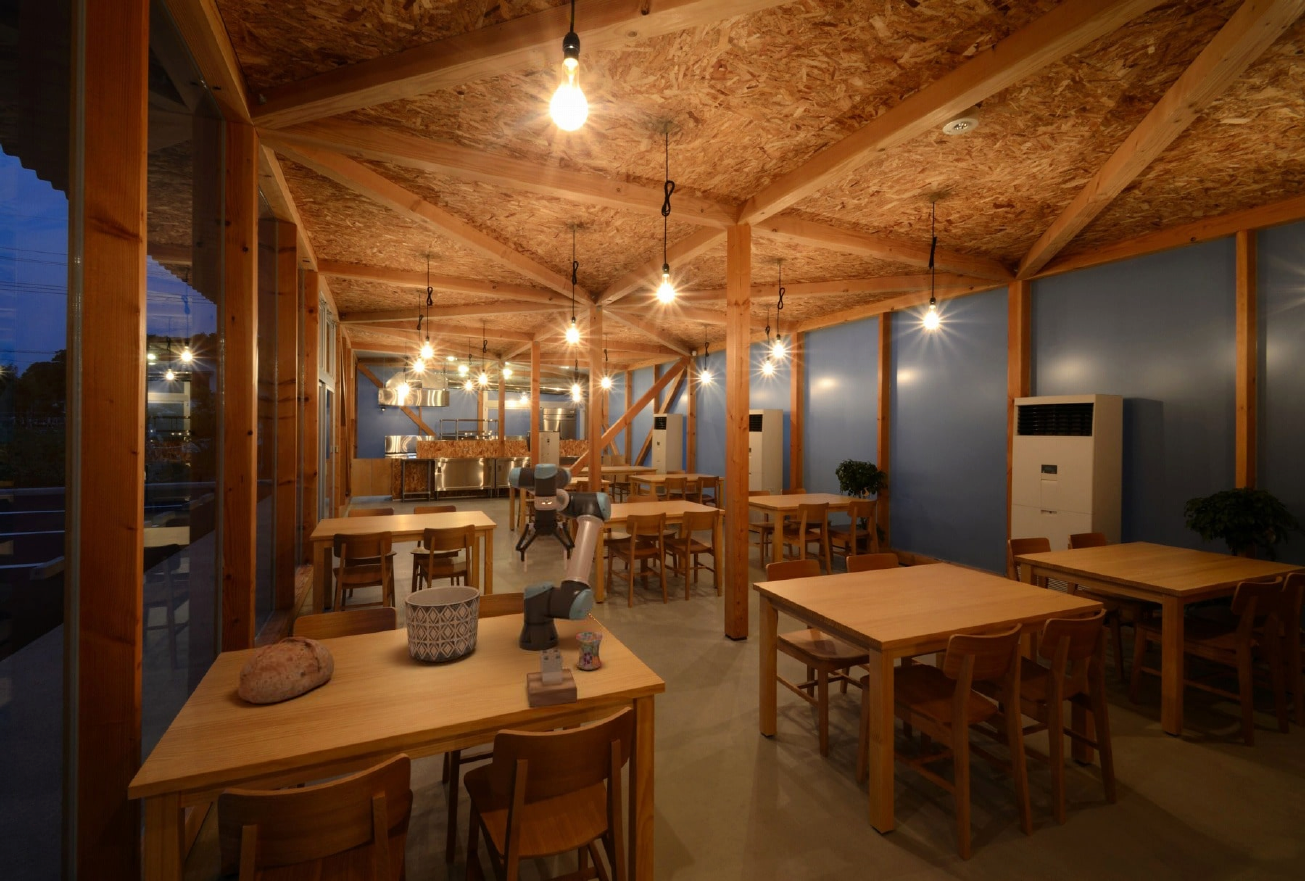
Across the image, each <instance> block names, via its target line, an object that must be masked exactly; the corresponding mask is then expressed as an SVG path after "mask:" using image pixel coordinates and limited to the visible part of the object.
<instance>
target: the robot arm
mask: <svg viewBox="0 0 1305 881" xmlns="http://www.w3.org/2000/svg"><path fill="white" fill-rule="evenodd" d="M508 473H509V474H508V483H509V486H511V488H515V489H524V490H525V491H526V492H529V493H530V494H532V495H533V496H534V508H535V509H534V522H533V523H531V522H530V523H529V522H525V524H524V530H523V532H522V533H521V535H520V538H519V539H518V541H517V543H516V546H515V551H516V552H519V553H520V561H521V562H522V563H523V571H524V572H525V573H526V572H528V551H526V550H528V548H529V547H530V546H531V545H532V543H533V542H534V541H535V540H536V539H537V538H538V537H539V536H541V537H544V536H552V535H553V536H554V537H555V538H557V540H558V541H559V542H560V543H561V545H562V546H563V547H564V548H563V569H564V570H567V575H566V578H564V579H562V580H561V583H560V586H559V587H556V586H555V583H554V582H553V581H541V582H540V581H539V582H536V583H532V584H528V585H527V586H526V587H525V588H524V590H523V598H522V600H523V626H522V629H521V632H520V635H519V637H518V638H519V639H518V645H519V647H520V648H522V649H524V650H529V651H543V650H549V649H551V648H554V647H555V646H557V645H558V644H559V634H558V631H557V627H556V624H555V619H557V620H569V621H584V620H586V618H587V617H588V616H589V614H590V613H591V610H592V608H593V603H594V593H593V590H591V586H590V584H589V578H590V573H591V570H592V569H591V568H592V563H593V559H594V554H595V551H596V546H597V541H598V536H599V532H600V529H601V528H602V527H604V525H605V521H606V522H607V521H610V519H611V517H612V504H611V503H612V502H611V500H610V496H609V495H608V494H607V493H606V492H599V491H597V492H593V491H592V492H591V491H566V490H564V488H566V487H568V486H569V485H570V484H571V482H572V477H573V476H572V473H571V472H570V470H569V469H568V468H566V467H562V466H561V467H557V465H556V464H555V463H537V464H536V465H534V467H527V466H526V467H522V466H518V467H513V468H511V469H510V471H509V472H508ZM557 515H561V516H564V517H565V518H569V519H574V520H576V522H577V523H578V528H577V532H576V536H575V541H573V538H572V536H571V535H570V532H569V531H568V529H567V523H566V522H565V521H564V520H563V521H559V522H558V521H557ZM558 527H559V528H560V529H562V531H563V532H564V535H565V537H566V539H567V541H568V542H569V544H568V543H567V542H566V541H565V540H564V539H563V538H562V536H561V535H560V534H559V533H558V532H557V529H558ZM532 528H533V529H534V530H535V531H534V532H533V533H532V535H531V536H530V537H529V538H528V540H527V541H526V542H525V543H524V541H525V539H526V537H527V535H528V533H529V530H530V531H531V530H532ZM572 549H573V550H572ZM571 550H572V554H571ZM568 560H570V562H569V565H568Z"/></svg>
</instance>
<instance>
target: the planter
mask: <svg viewBox="0 0 1305 881" xmlns="http://www.w3.org/2000/svg"><path fill="white" fill-rule="evenodd" d="M480 595H481V592H480V590H479V589H478V588H475V587H473V586H467V585H444V586H435V587H430V588H429V587H428V588H424V589H420V590H416V591H414V592H411V593H410V594H408V595H406V596H405V597H404V602H405V603H404V604H405V605H404V606H405V617H406V620H405V621H406V631H407V632H406V634H407V646H408V647H407V649H408V654H409V655H410V656H411V657H412V658H413V659H417V660H419V661H420V660H422V661H427V662H430V663H431V662H433V663H439V662H448V661H452V660H455V659H457V658H460V657H461V656H464V655H466V654H468V653H471V651H473V650H474V649H475V648H476V647H477V643H478V631H479V630H478V629H479V628H478V627H479V612H480V599H481V596H480Z"/></svg>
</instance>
